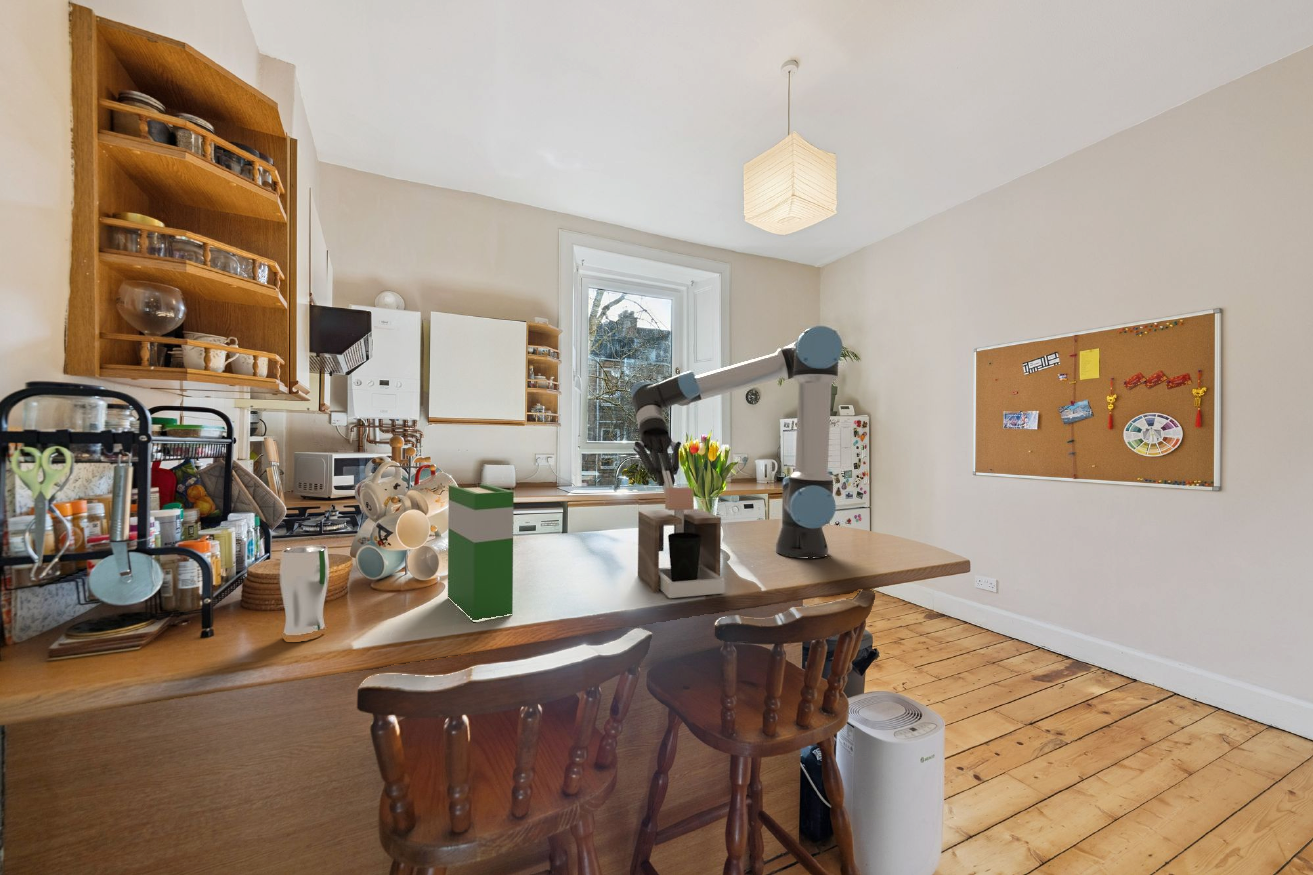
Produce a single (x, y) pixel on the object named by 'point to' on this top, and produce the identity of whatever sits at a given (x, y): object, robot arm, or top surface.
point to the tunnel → (654, 540)
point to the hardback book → (481, 550)
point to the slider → (708, 580)
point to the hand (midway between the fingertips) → (670, 494)
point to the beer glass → (304, 587)
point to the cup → (684, 555)
